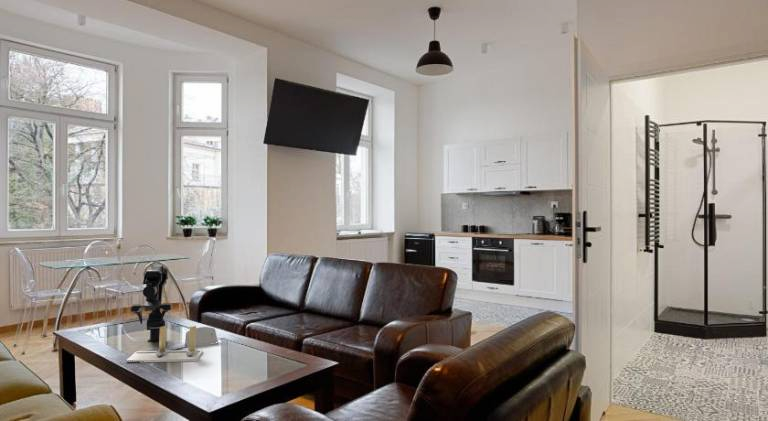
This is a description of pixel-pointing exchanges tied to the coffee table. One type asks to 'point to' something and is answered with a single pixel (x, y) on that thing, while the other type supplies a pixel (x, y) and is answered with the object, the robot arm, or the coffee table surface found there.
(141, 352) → the plate
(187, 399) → the coffee table surface
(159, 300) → the robot arm
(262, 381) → the coffee table surface
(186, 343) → the grey blocky piece
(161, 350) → the leg
